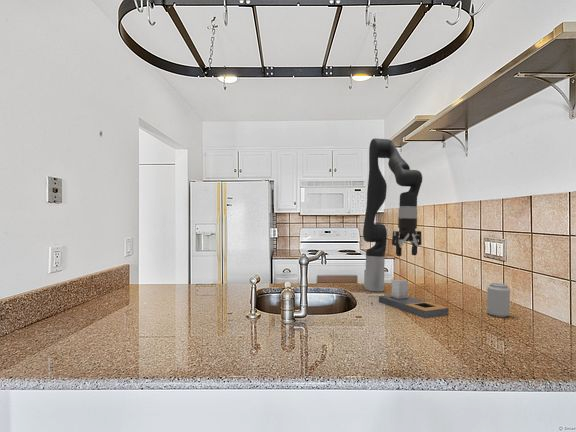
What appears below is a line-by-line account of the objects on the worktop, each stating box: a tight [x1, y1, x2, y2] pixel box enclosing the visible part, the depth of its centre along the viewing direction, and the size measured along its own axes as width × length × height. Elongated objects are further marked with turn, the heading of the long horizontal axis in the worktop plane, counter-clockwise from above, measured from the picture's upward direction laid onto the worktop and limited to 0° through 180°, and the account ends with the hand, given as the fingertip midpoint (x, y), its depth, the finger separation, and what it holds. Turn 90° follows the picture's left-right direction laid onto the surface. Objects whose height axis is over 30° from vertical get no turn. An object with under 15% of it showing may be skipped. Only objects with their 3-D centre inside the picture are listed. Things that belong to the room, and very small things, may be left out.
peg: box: [391, 279, 409, 300], centre depth 154 cm, size 4×4×10 cm
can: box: [486, 282, 511, 318], centre depth 139 cm, size 8×8×12 cm
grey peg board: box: [378, 294, 449, 319], centre depth 147 cm, size 26×12×3 cm, turn 25°
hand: (406, 255), depth 153 cm, fingers open, 8 cm apart
